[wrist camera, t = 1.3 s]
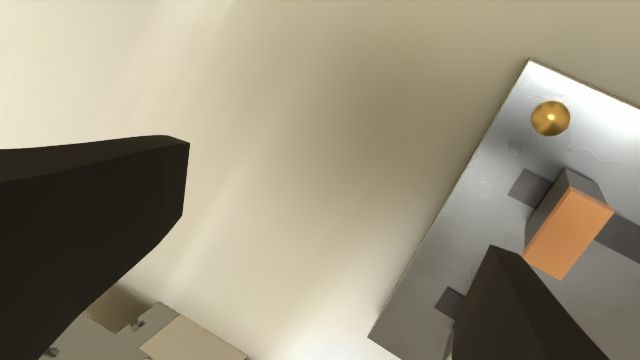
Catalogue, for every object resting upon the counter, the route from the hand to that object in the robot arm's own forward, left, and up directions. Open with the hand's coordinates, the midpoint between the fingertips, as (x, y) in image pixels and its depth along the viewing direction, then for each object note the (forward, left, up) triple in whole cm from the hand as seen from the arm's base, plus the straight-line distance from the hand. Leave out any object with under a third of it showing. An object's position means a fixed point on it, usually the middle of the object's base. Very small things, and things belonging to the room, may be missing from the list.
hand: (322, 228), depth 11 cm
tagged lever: (-6, -1, -9) cm, 11 cm away
